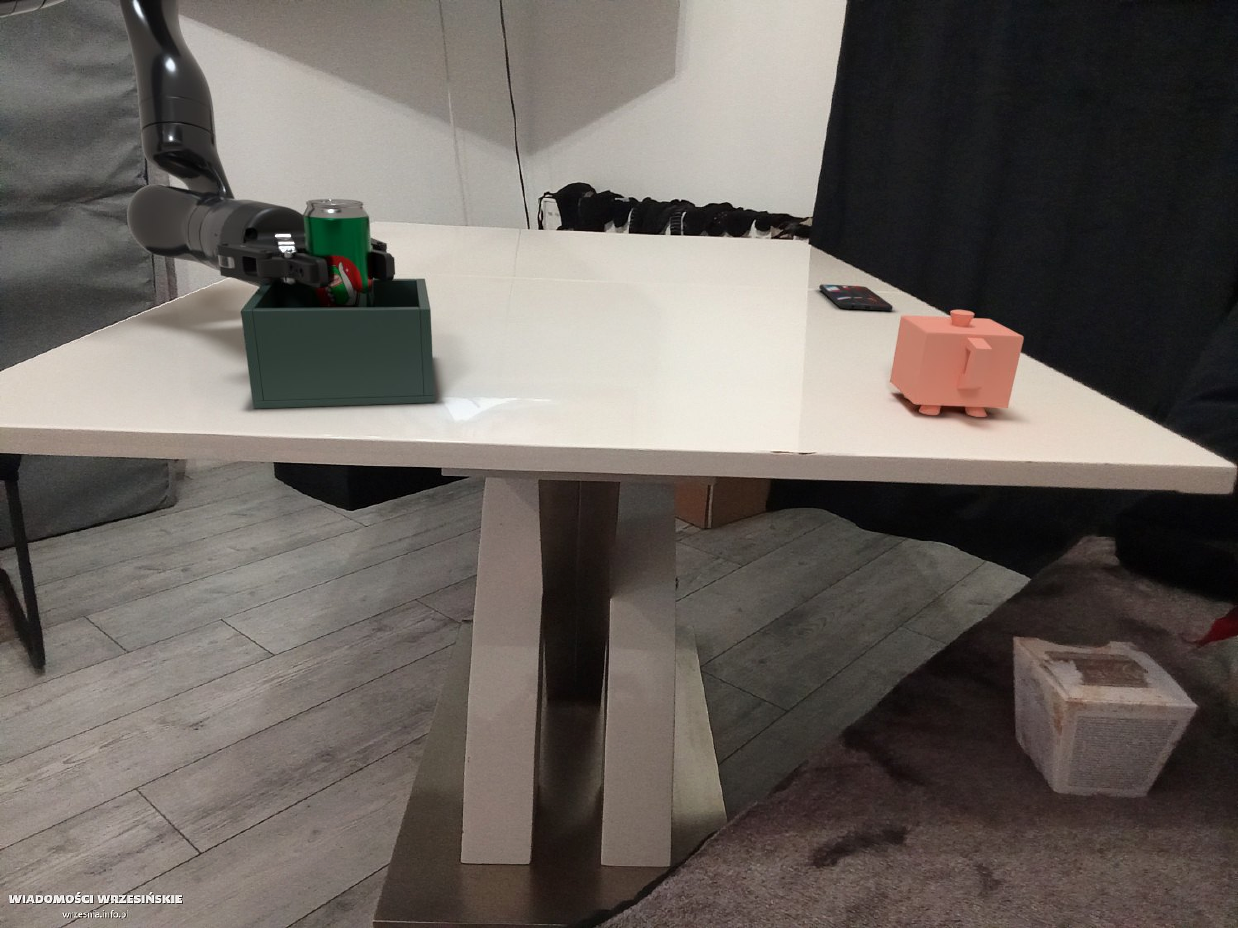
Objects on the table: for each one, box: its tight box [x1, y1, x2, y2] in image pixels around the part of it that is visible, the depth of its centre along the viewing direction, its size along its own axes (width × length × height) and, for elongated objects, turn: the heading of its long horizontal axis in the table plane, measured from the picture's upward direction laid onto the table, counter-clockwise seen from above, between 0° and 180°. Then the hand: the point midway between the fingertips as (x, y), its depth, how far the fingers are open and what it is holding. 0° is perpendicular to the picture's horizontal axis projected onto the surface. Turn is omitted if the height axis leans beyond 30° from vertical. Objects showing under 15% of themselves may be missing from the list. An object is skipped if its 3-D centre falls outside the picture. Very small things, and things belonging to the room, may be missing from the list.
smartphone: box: [818, 283, 894, 311], centre depth 117 cm, size 7×1×15 cm
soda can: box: [302, 198, 375, 308], centre depth 68 cm, size 5×5×12 cm
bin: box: [240, 278, 436, 410], centre depth 70 cm, size 14×14×8 cm
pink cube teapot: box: [889, 309, 1025, 418], centre depth 71 cm, size 8×12×8 cm, turn 0°
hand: (357, 271), depth 66 cm, fingers open, 5 cm apart
